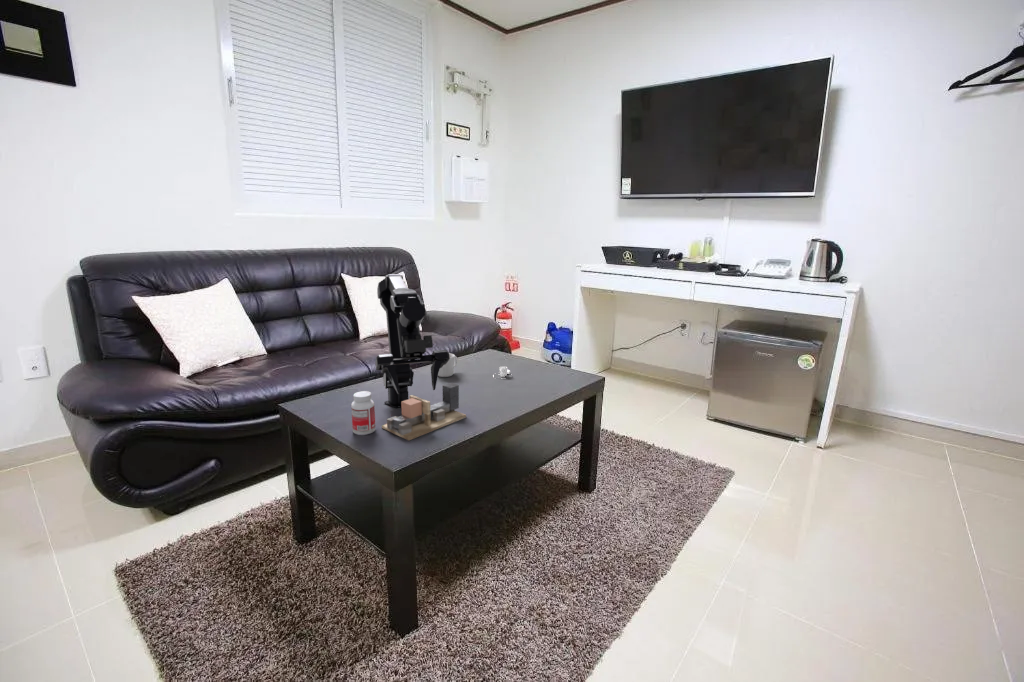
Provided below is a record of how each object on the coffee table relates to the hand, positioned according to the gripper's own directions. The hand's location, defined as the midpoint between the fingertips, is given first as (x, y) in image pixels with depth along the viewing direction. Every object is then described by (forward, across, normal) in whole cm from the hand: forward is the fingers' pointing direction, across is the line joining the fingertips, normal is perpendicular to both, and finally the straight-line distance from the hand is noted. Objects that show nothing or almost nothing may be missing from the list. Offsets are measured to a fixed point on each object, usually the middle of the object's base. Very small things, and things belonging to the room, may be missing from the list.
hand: (416, 391), depth 123 cm
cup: (-17, +23, +56) cm, 62 cm away
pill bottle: (+6, -12, +19) cm, 24 cm away
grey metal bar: (+4, +6, +19) cm, 20 cm away
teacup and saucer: (-12, +46, +48) cm, 68 cm away
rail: (+5, +5, +19) cm, 21 cm away
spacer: (+3, +1, +15) cm, 16 cm away
